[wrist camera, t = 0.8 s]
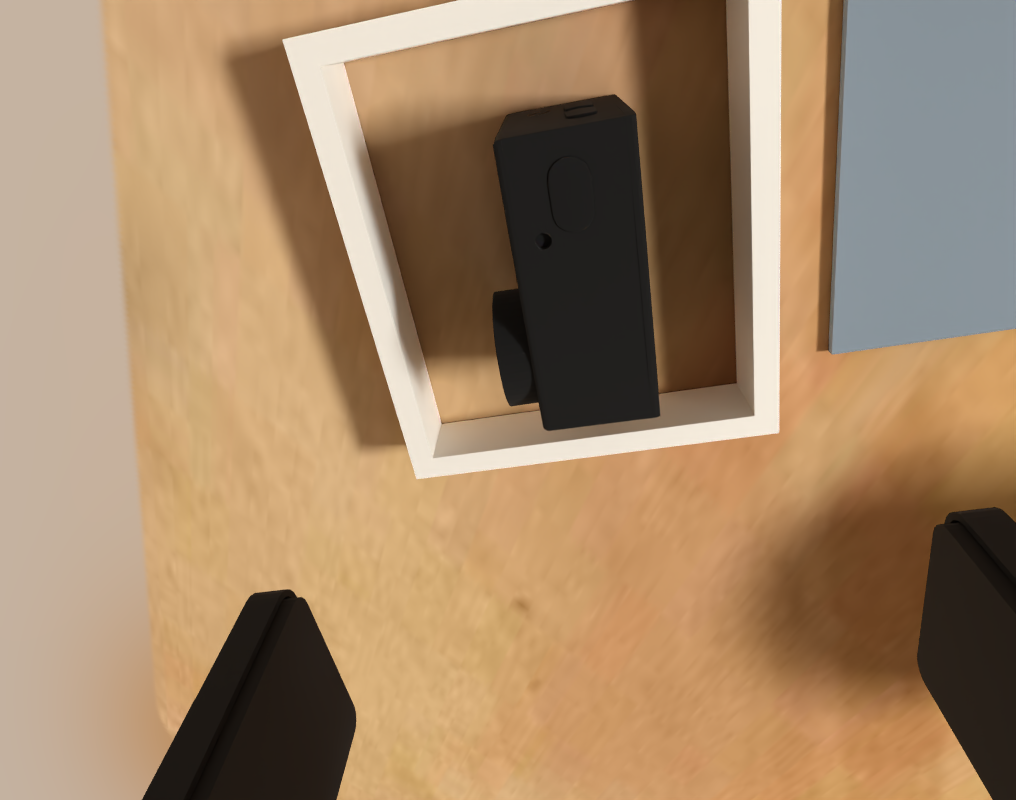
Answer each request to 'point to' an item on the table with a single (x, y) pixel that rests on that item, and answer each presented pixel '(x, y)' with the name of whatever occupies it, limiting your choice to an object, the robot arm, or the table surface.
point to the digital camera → (576, 266)
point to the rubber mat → (924, 173)
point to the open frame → (372, 256)
